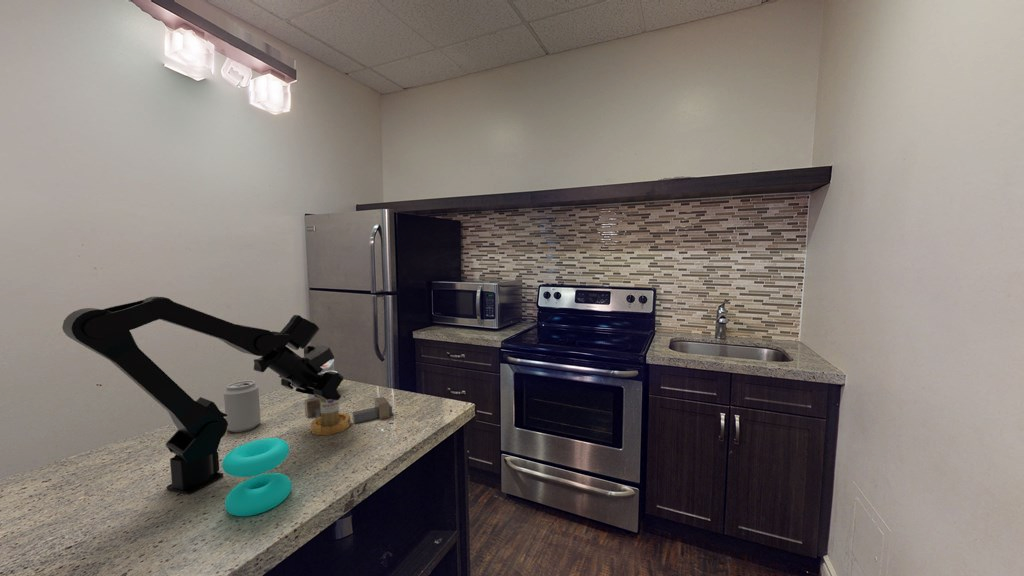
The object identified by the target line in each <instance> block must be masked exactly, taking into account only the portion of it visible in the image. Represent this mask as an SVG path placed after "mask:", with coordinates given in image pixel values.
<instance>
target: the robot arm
mask: <svg viewBox="0 0 1024 576" xmlns="http://www.w3.org/2000/svg"><path fill="white" fill-rule="evenodd" d="M159 320H160V321H163V322H166V323H170V324H172V325H175V326H179V327H182V328H184V329H188V330H191V331H192V332H193V331H194V332H197V333H199V334H203V335H206V336H209V337H211V338H212V337H213V338H215V339H218V340H220V341H221V342H224V344H226V345H227V346H229V347H231V348H233V349H235V350H237V351H239V352H241V353H243V354H246V355H252V356H256V357H259V358H257V359H256V358H255V359H253V363H254V364H253V371H255V372H259V373H264V372H265V371H266V370H267V369H268V368H269V369H270V370H271V371H273V372H274V373H276V374H278V375H279V376H278V377H279V378H281V379H280V385H281V386H283V388H285V389H288V390H291V391H293V390H294V388H295V391H296V392H298V393H301V394H307V395H308V394H311V395H315V397H318V398H322V399H326V400H328V399H333V400H340V399H341V395H340V393H339V390H338V391H337V390H336V389H337V388H339V386H340V385H341V383H342V382H343V380H344V376H343V375H342V374H340V373H339V372H338V373H336V372H331V371H329V372H325V373H324V374H323V375H318V373H320V372H321V371H322V370H323V369H322V368H321V366H323V365H324V364H326V363H327V362H328V361H330V360H333V359H335V355H334V353H333V352H332V350H331V348H330V346H327V345H316V346H313V345H309V343H310V342H311V341H313V339H314V338H315V336H317V334H318V332H319V331H320V327H319V326H318V325H317V324H315V323H314V322H311V321H310V320H308V319H306V318H304V317H302V316H301V315H299V314H294V315H292V317H290V319H289V321H288V322H287V324H285V326H284V327H283V329H281V331H270V330H269V329H263V328H258V327H254V326H253V327H252V326H247V325H242V324H236V323H232V322H230V321H227V320H224V319H223V318H219V317H216V316H214V315H211V314H208V313H206V312H202V311H200V310H197V309H194V308H192V307H189V306H186V305H183V304H181V303H178V302H175V301H173V300H172V299H170V298H169V297H164V296H149V297H146V298H145V299H141V300H138V301H133V302H128V303H123V304H119V305H115V306H110V307H107V308H103V309H101V308H94V307H86V308H80V309H77V310H73V312H71V313H69V314H68V315H67V316H66V317H65V319H64V320H63V323H62V327H61V328H62V331H63V333H64V334H65V336H67V337H68V338H70V339H71V340H73V341H74V342H76V343H78V344H79V345H82V346H83V347H84V348H87V349H88V350H90V351H92V352H94V353H95V354H97V355H99V356H101V357H103V358H104V359H107V360H108V361H109V362H111V363H112V364H113V365H114V366H116V367H117V368H118V370H120V371H121V372H122V373H123V374H125V375H126V377H128V378H129V379H131V381H132V382H134V383H135V384H136V385H137V386H138V387H139V388H141V389H142V390H143V391H144V392H145V393H146V394H147V395H148V396H149V397H150V398H152V399H153V400H154V401H155V402H156V403H158V404H159V405H160V406H161V407H162V408H163V409H165V410H166V411H167V413H168V414H169V416H170V418H171V420H172V422H173V424H174V426H176V428H177V430H176V431H175V433H174V434H173V435H172V436H171V437H170V438H169V439H168V440H167V441H166V443H165V447H166V448H167V449H168V451H169V452H170V453H172V454H174V456H173V457H171V458H169V463H170V465H169V466H170V477H171V483H170V484H168V485H167V486H166V490H168V491H173V492H177V493H182V494H186V495H190V494H192V493H194V492H196V491H198V490H200V489H202V488H204V487H206V486H208V485H209V484H211V483H213V482H215V481H217V480H218V479H221V478H223V477H224V473H223V472H220V460H219V451H218V449H219V446H220V443H221V439H222V438H223V437H224V436H225V435H226V432H227V431H228V430H227V426H228V422H227V420H226V418H225V416H227V414H225V412H222V411H221V410H220V409H219V407H218V405H217V404H216V403H215V402H214V401H212V400H210V399H208V398H204V397H201V396H199V398H198V399H197V400H194V399H193V398H192V397H191V395H189V394H188V393H187V392H186V391H185V390H184V389H183V388H182V387H181V386H180V385H178V384H177V382H175V381H174V379H173V378H171V377H170V376H169V375H168V374H167V373H166V372H165V371H164V370H162V368H160V367H159V365H157V364H156V363H155V362H154V361H153V360H152V359H151V358H150V357H149V356H148V355H146V354H145V353H144V351H143V350H141V349H140V348H139V346H138V345H137V342H136V340H135V338H134V336H133V334H132V332H131V331H132V330H135V329H138V328H140V327H143V326H145V325H148V324H151V323H153V322H156V321H159ZM300 349H302V350H303V357H302V356H300V355H299V354H297V353H296V352H294V350H295V351H298V350H300Z"/></svg>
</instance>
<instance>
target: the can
mask: <svg viewBox="0 0 1024 576" xmlns="http://www.w3.org/2000/svg"><path fill="white" fill-rule="evenodd" d="M225 387H226V389H225V390H224V391H223V401H224V402H223V403H224V413H225V414H227V416H225V417H224V418H225V419H226V420H227V422H228V426H227V431H230V432H231V433H241V432H247V431H250V430H252V429H254V428H256V427H257V426H258V425H259V424H260V423H261V408H260V407H261V405H260V404H261V403H260V391H259V385H257V384H256V381H255V380H252V379H250V380H249V379H247V380H239V381H235V382H232V383H229V384H227V385H226V386H225Z"/></svg>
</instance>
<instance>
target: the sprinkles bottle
mask: <svg viewBox="0 0 1024 576" xmlns="http://www.w3.org/2000/svg"><path fill="white" fill-rule="evenodd" d="M325 372H329V371H325ZM325 372H321V373H320V374H319V375H323V374H324V373H325ZM331 372H336V373H339V372H338V371H336V370H335V371H331ZM338 388H339V387H338ZM338 388H337V389H336V390H337V391H338V392H339V389H338ZM339 400H340V399H339ZM339 400H333V399H328V400H326V399H322V398H320V412H321V426H327V425H333V424H337V423H340V422H339V413H340V412H339V410H340V408H339V407H340V403H339Z"/></svg>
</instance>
